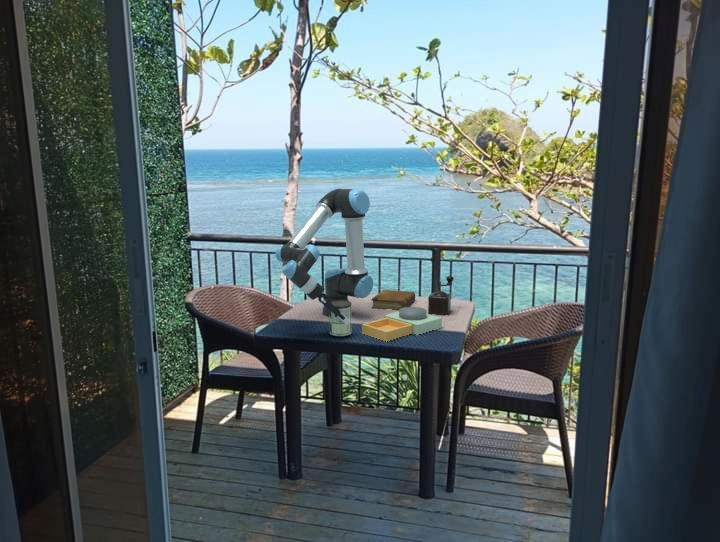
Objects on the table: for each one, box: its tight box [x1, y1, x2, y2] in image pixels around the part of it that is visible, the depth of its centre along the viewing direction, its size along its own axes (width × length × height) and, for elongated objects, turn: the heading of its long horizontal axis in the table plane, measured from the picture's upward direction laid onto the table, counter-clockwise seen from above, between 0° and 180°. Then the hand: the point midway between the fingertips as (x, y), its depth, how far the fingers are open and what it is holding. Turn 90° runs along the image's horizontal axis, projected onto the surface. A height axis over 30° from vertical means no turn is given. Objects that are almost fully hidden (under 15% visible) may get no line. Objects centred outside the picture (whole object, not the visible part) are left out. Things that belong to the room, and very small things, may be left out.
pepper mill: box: [427, 275, 455, 316], centre depth 300 cm, size 16×11×18 cm
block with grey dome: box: [383, 306, 443, 336], centre depth 274 cm, size 22×17×8 cm
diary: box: [371, 289, 416, 311], centre depth 316 cm, size 23×19×6 cm
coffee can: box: [329, 300, 353, 337], centre depth 263 cm, size 10×10×14 cm
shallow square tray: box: [361, 317, 413, 343], centre depth 264 cm, size 16×16×4 cm
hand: (347, 319), depth 263 cm, fingers closed on coffee can, 10 cm apart
